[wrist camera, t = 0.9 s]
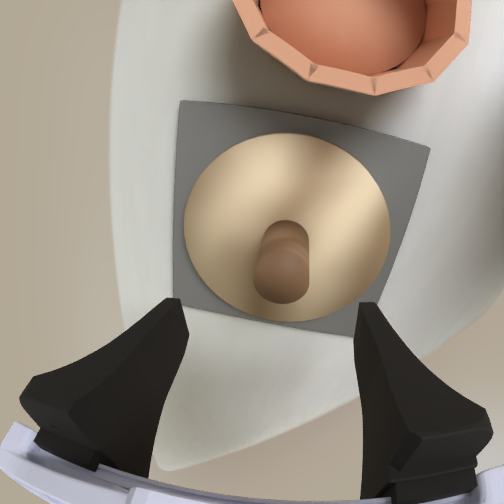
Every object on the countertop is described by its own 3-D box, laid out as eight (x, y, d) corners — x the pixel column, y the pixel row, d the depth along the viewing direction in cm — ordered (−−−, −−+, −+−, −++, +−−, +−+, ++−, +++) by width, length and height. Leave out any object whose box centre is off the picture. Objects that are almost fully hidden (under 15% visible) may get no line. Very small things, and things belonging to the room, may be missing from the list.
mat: (427, 146, 17) (430, 148, 16) (361, 332, 24) (361, 337, 24) (183, 100, 18) (180, 100, 17) (176, 298, 25) (173, 302, 25)
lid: (411, 159, 17) (445, 187, 12) (354, 326, 24) (360, 379, 19) (194, 118, 18) (158, 132, 13) (185, 295, 24) (162, 343, 20)
